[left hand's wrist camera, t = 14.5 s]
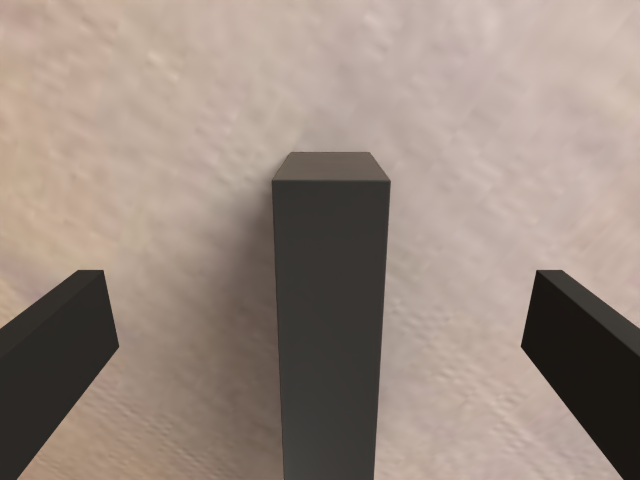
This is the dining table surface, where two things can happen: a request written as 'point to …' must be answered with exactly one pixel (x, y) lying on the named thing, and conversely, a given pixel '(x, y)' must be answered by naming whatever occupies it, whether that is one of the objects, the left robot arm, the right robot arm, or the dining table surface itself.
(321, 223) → the bar
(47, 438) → the left robot arm
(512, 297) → the dining table surface
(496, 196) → the dining table surface
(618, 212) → the dining table surface
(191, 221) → the dining table surface
